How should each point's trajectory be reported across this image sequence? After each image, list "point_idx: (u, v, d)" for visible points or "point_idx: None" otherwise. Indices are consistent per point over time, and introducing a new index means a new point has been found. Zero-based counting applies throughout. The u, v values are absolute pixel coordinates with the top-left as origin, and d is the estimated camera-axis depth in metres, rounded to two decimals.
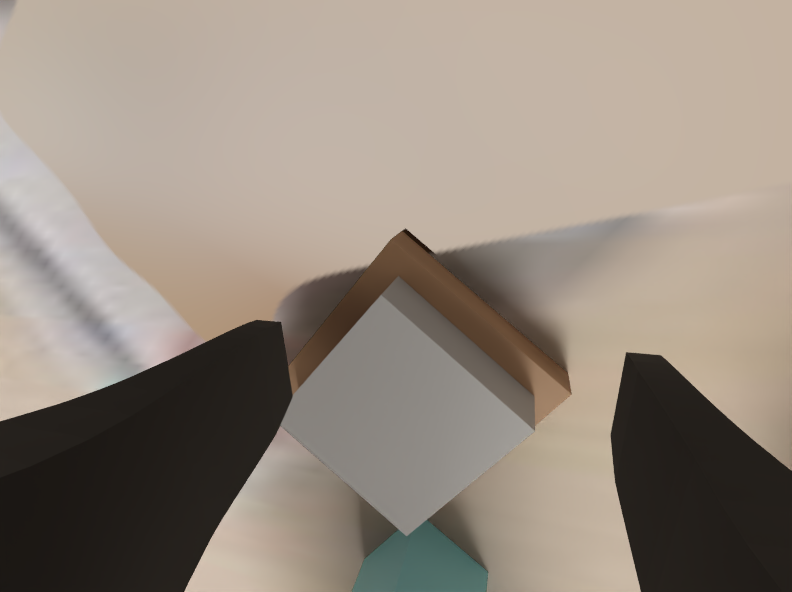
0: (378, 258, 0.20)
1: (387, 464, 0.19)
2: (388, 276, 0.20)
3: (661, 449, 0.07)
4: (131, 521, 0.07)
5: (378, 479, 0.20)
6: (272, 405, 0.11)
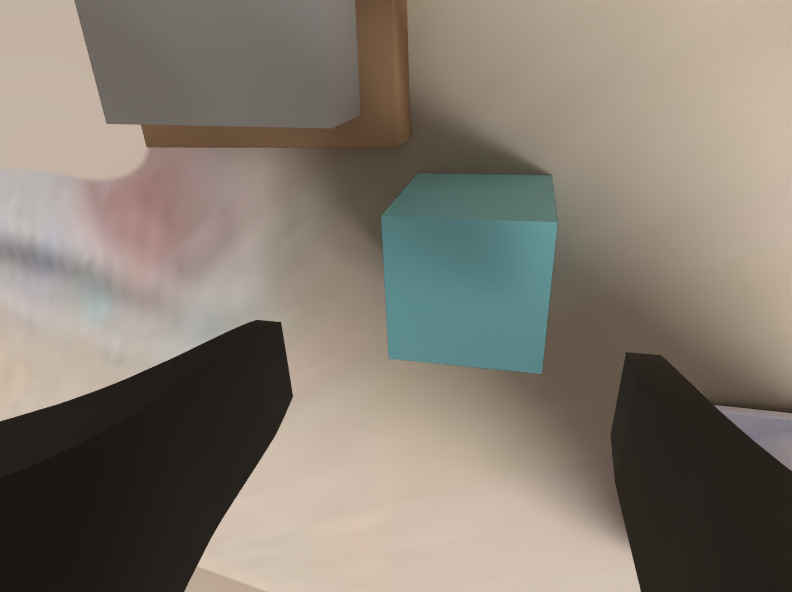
0: None
1: (231, 47, 0.13)
2: None
3: (661, 449, 0.07)
4: (131, 521, 0.07)
5: (243, 80, 0.14)
6: (272, 405, 0.11)
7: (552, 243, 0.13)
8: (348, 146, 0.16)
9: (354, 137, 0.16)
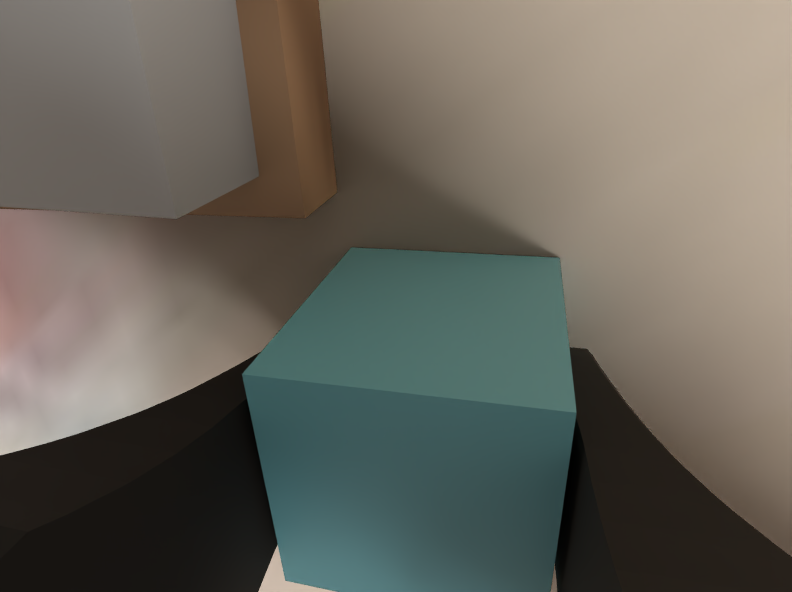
0: None
1: None
2: None
3: None
4: (210, 537, 0.07)
5: (9, 128, 0.07)
6: None
7: (565, 446, 0.07)
8: (229, 213, 0.10)
9: (235, 200, 0.10)
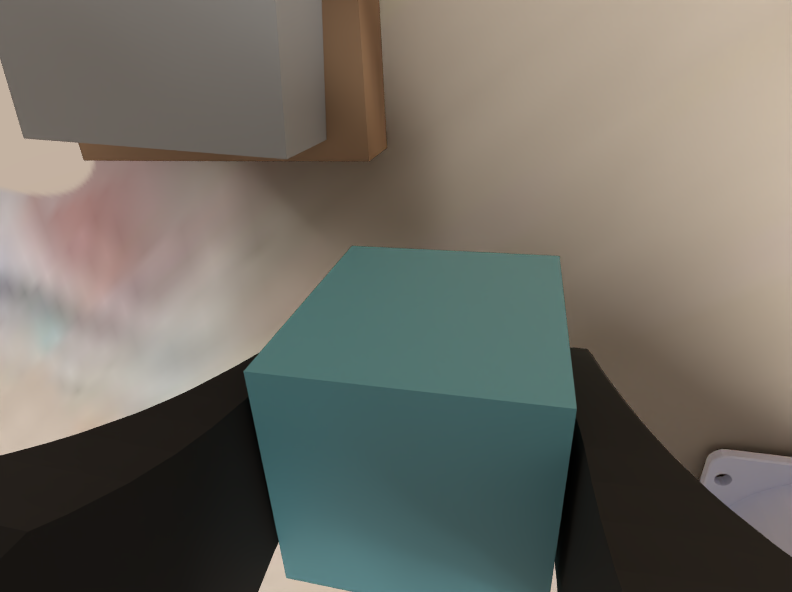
0: None
1: (167, 57, 0.11)
2: None
3: None
4: (210, 537, 0.07)
5: (181, 97, 0.11)
6: None
7: (565, 442, 0.07)
8: (312, 160, 0.14)
9: (318, 149, 0.14)
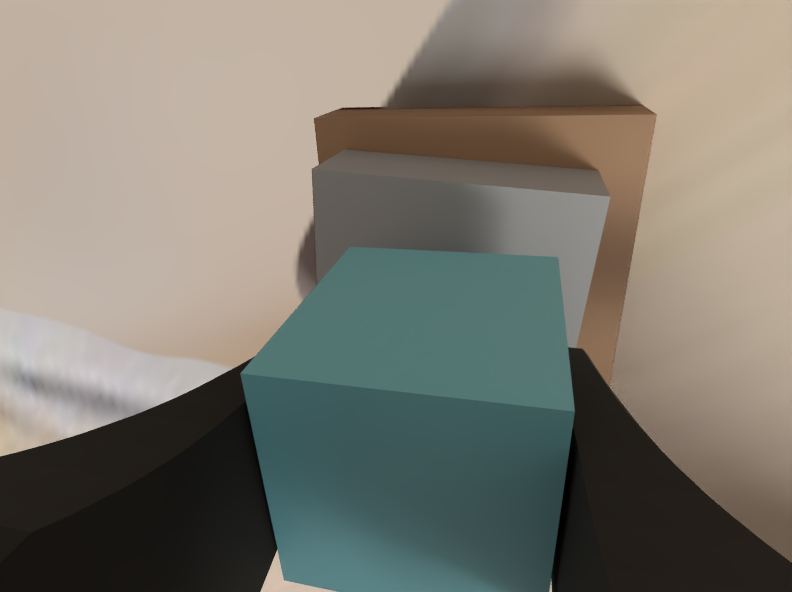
0: (320, 150, 0.15)
1: None
2: None
3: None
4: (212, 537, 0.07)
5: None
6: None
7: (563, 445, 0.07)
8: None
9: None
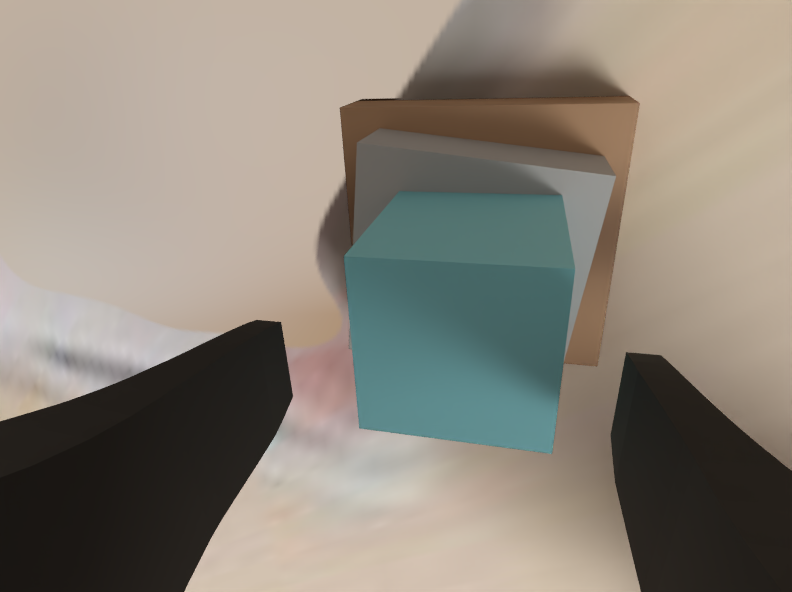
0: (344, 136, 0.17)
1: None
2: None
3: (661, 449, 0.07)
4: (131, 521, 0.07)
5: None
6: (272, 405, 0.11)
7: (568, 295, 0.10)
8: None
9: None
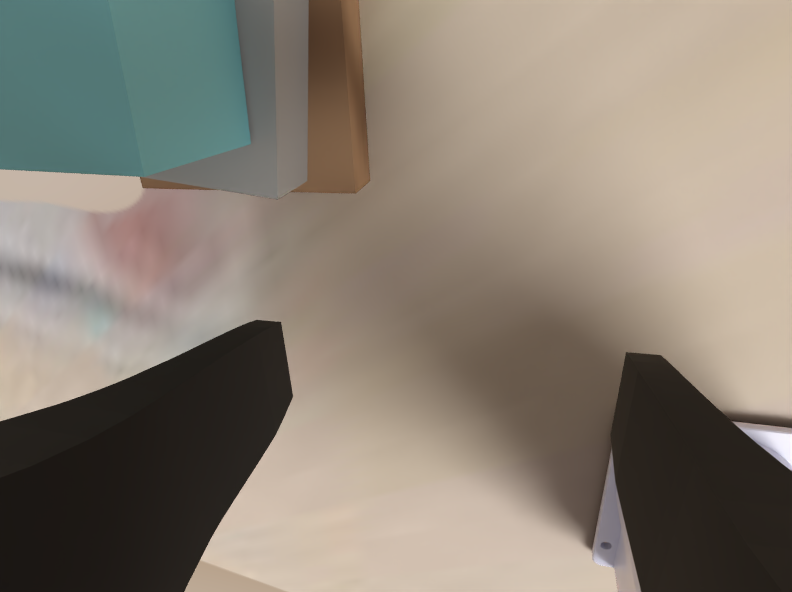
0: None
1: None
2: None
3: (661, 449, 0.07)
4: (131, 521, 0.07)
5: None
6: (272, 405, 0.11)
7: None
8: (314, 191, 0.19)
9: (319, 184, 0.19)
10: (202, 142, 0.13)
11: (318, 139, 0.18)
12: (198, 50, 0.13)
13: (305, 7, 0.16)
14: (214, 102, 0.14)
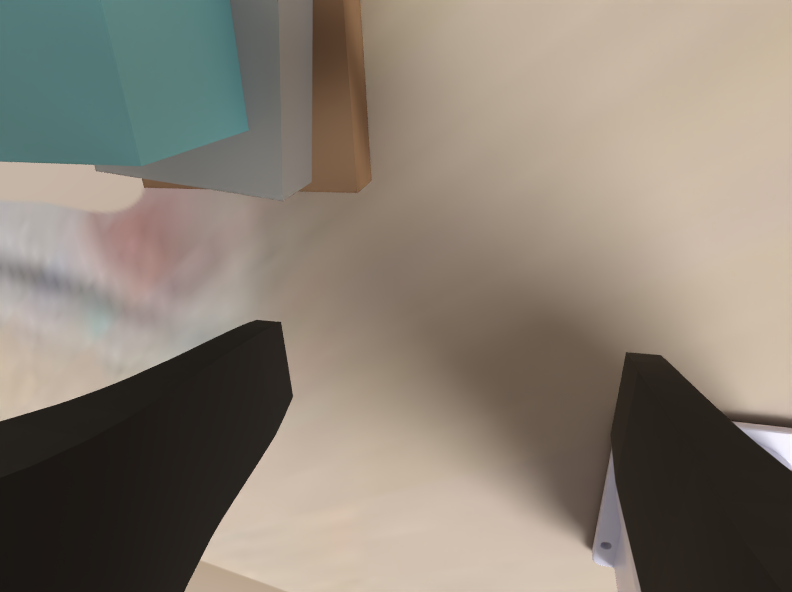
0: None
1: None
2: None
3: (661, 449, 0.07)
4: (131, 521, 0.07)
5: (213, 155, 0.17)
6: (272, 405, 0.11)
7: None
8: (315, 191, 0.19)
9: (320, 183, 0.19)
10: (198, 131, 0.13)
11: (320, 139, 0.18)
12: (192, 37, 0.13)
13: (309, 8, 0.16)
14: (209, 89, 0.14)
